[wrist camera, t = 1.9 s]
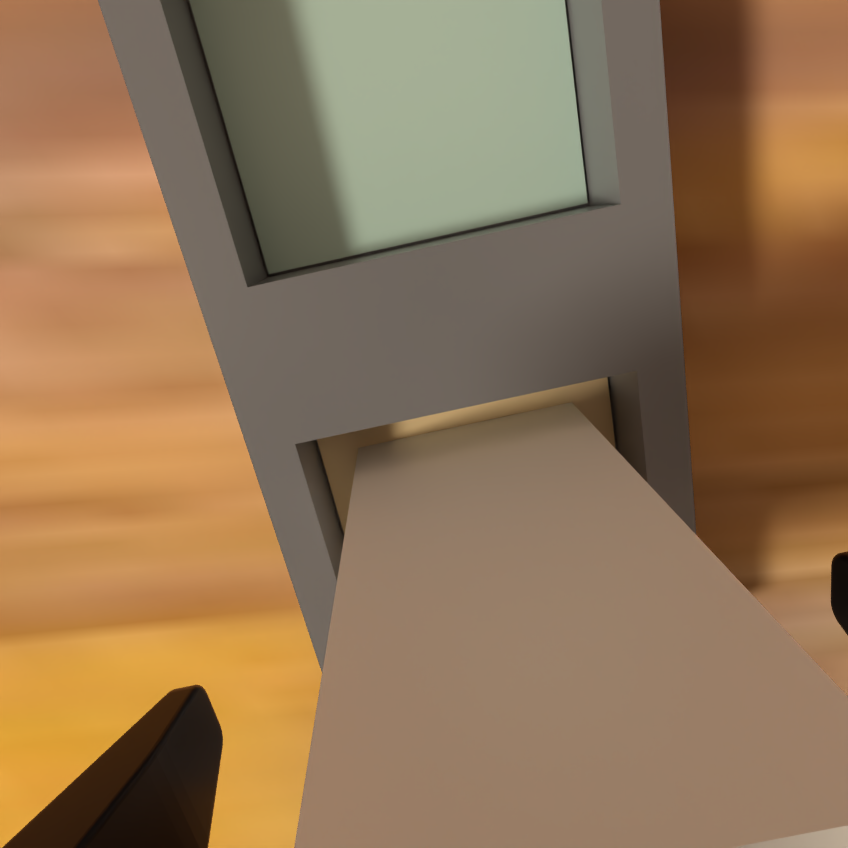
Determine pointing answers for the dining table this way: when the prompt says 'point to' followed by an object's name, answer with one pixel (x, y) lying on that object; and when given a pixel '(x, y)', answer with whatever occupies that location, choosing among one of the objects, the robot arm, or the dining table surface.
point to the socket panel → (417, 229)
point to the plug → (555, 664)
